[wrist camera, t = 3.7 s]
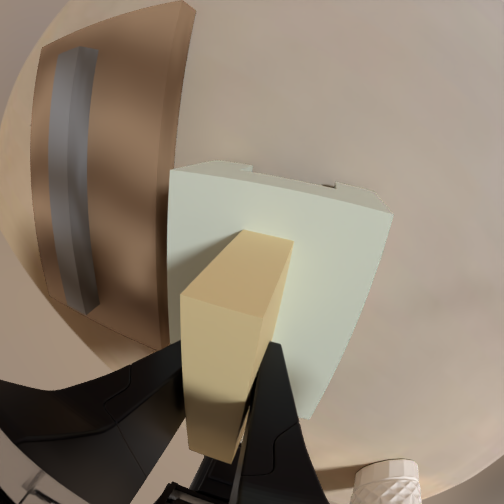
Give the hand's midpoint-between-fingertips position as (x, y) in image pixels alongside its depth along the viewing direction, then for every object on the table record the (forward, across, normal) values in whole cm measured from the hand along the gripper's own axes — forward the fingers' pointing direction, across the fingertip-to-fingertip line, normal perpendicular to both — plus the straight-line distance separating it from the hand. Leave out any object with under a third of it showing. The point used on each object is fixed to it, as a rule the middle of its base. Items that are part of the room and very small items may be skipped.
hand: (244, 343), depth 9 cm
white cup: (+6, -16, +20) cm, 26 cm away
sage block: (+5, 0, 0) cm, 5 cm away
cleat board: (+6, +12, -3) cm, 14 cm away
